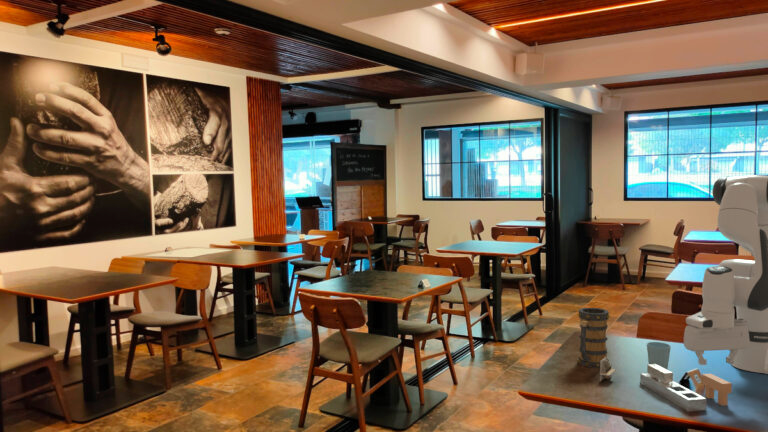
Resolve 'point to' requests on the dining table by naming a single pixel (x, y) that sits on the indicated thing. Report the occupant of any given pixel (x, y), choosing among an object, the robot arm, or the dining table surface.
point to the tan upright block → (716, 387)
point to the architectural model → (605, 369)
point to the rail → (671, 388)
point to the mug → (593, 336)
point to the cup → (658, 353)
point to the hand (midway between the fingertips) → (716, 363)
